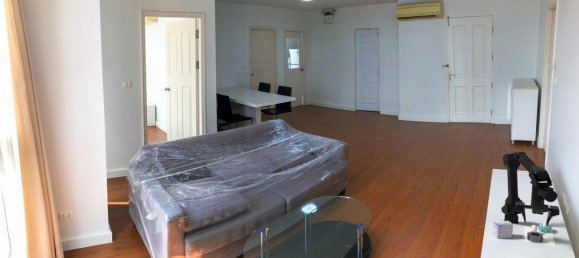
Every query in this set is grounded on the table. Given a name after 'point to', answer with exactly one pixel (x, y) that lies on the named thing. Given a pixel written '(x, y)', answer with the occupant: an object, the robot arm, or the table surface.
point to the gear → (534, 237)
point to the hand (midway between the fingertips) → (535, 224)
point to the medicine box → (503, 229)
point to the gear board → (542, 229)
